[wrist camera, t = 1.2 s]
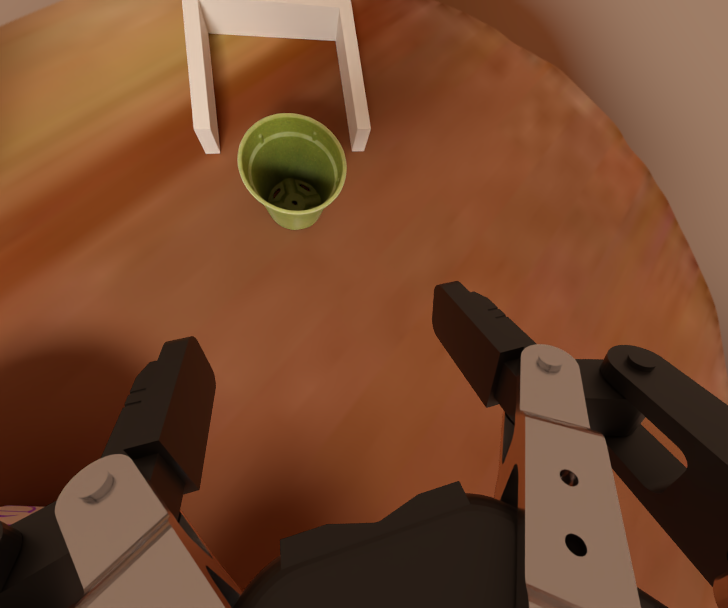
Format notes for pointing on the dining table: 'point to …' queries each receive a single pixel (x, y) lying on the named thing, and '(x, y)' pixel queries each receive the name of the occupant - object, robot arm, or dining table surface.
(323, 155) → the plant pot
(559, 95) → the dining table surface
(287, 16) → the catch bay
